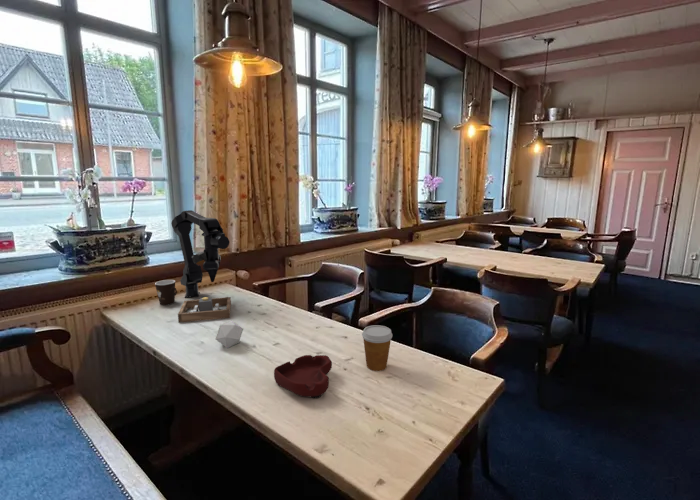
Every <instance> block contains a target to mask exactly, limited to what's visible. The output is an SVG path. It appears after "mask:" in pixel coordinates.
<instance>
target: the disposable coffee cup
mask: <svg viewBox="0 0 700 500" xmlns="http://www.w3.org/2000/svg"><path fill="white" fill-rule="evenodd" d="M361 336H362V337H361V338H362V339H363V345H364V355H365V363H366V364H365V365H366V368H367V369H369V370H370V371H372V372H382V371H385V370H386V369H387V367H388V361H389V353H390V349H391V348H390V347H391V342H392V339H393V333H392V329H391V328H389V327H387V326H385V325H379V324H377V325H368V326H366V327H365V328H364V329H363V331H362V332H361Z"/></svg>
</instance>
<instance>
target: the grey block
mask: <svg viewBox="0 0 700 500" xmlns="http://www.w3.org/2000/svg"><path fill="white" fill-rule="evenodd" d="M212 299H213V298H212V297H208V296H206V297H202V298H199V299H198V300H199V308H198V312H201V311H212V310H214V309H213V305H212Z"/></svg>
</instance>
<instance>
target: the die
mask: <svg viewBox="0 0 700 500" xmlns="http://www.w3.org/2000/svg"><path fill="white" fill-rule="evenodd" d="M243 330H244V328H243V327H242V326H241V325H239V324H238V323H236V322H235V321H234V320H232V319H231V320H228V321H226V322H223V323H222V324H221V323H220V324H219V327H218V330H217V333H216V336H215V340H216V341H217V342H218V343H220V344H221V345H222V346H224V347H225V348H226V349H229V348H231V347H233V346H235V345H237V344H240V340H241V337H242V334H243V332H244V331H243Z"/></svg>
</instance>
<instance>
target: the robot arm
mask: <svg viewBox="0 0 700 500" xmlns="http://www.w3.org/2000/svg"><path fill="white" fill-rule="evenodd" d="M193 224H195V225H197V226H198V227H199V230H201V231H202V233H201V236H202V237H203V242H204V244H203V245H204V249H203V251H201V252H199V253H194V249H193V246H192V245H193V244H192V241H191V236H190V233H191V231H192V225H193ZM171 226H172V229H173V232H174V233H175V234H176V235H177V236H178V238H179V243H180V248H181V253H182V257H183V261H184V267H183V270H182V274H183V275H182V276H181V278H180V280H179V281H180V285H181V286H184V287H185V295H184V298H199V297H200V294H201V293H200V291H199V285H198V284H199V283H202V282H203V271H202V269H203V270H204V271H206V272H207V273H208V276H209V279H210V282H211V283H214V282H215V279H216V276H217V274H218V271H219V268H220V264H221V260H222V259H221V258H222V257H221V255H220V254H219V249H221V250H225V249H227V248H228V247H229V246H230V238H228V237H227V236H226V233H224V229H223V228H222V226H221V224H220V222H219V220H218V219H217V218H215V217H205V216H204V215H202V214H199V213H197V212H195V211H194V210H183V211H182V212H181V213H180V214H178V215H176V216H174V217H173V219H172V220H171ZM202 261H203V264H202V267H201V265H199V264H198V263H199V262H202Z"/></svg>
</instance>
